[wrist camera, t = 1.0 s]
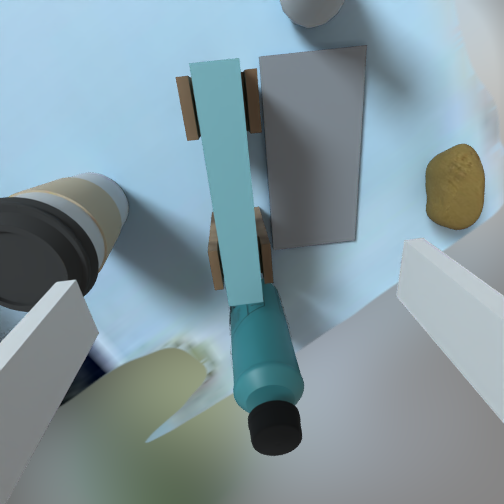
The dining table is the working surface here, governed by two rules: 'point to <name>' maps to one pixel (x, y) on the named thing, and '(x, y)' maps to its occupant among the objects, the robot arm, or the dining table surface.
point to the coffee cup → (57, 236)
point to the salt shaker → (311, 11)
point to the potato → (455, 187)
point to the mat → (313, 143)
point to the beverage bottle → (266, 373)
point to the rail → (229, 174)
